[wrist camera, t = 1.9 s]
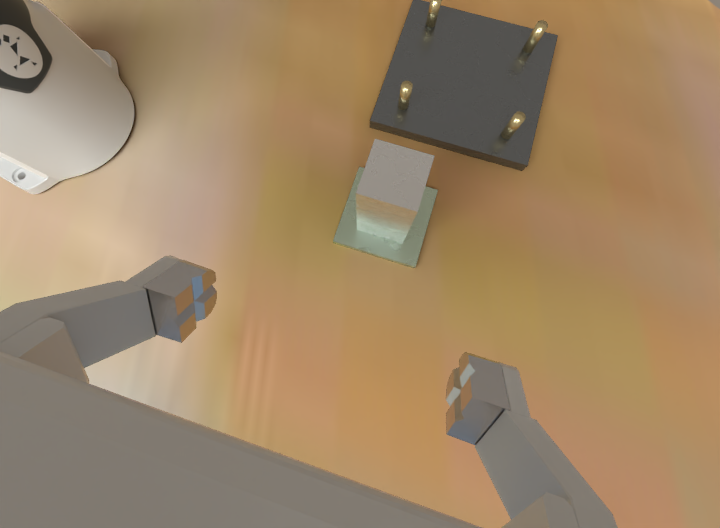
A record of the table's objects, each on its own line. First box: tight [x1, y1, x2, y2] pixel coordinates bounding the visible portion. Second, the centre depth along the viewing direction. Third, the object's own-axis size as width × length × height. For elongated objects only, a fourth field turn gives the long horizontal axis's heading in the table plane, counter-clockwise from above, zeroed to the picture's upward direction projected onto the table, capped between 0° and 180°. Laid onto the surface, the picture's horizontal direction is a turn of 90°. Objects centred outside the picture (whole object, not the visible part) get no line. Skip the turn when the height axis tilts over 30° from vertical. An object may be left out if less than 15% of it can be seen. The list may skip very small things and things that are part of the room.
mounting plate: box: [370, 0, 558, 171], centre depth 36 cm, size 18×18×4 cm
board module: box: [333, 139, 438, 268], centre depth 30 cm, size 9×9×10 cm
